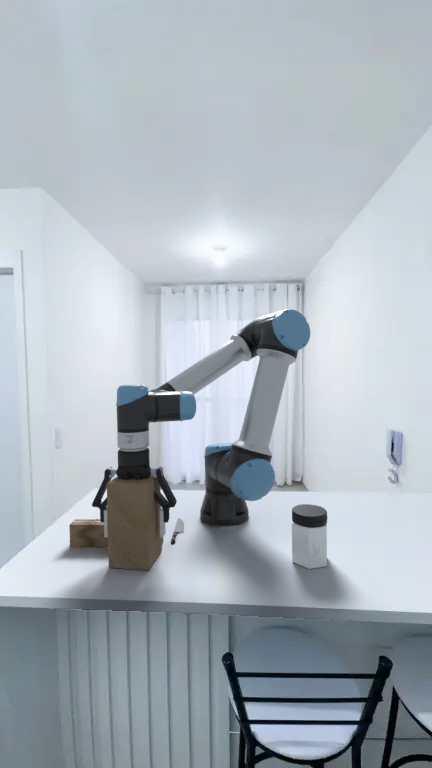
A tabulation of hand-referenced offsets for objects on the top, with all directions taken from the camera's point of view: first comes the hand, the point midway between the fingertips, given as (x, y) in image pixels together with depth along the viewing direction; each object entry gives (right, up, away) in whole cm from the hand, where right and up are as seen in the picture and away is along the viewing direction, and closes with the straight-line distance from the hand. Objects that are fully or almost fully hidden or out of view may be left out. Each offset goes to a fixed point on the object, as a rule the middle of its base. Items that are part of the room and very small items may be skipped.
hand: (135, 535), depth 88 cm
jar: (+42, -5, -2) cm, 42 cm away
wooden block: (0, -6, 0) cm, 6 cm away
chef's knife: (+9, -6, +17) cm, 20 cm away
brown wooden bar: (-7, -6, +8) cm, 12 cm away
